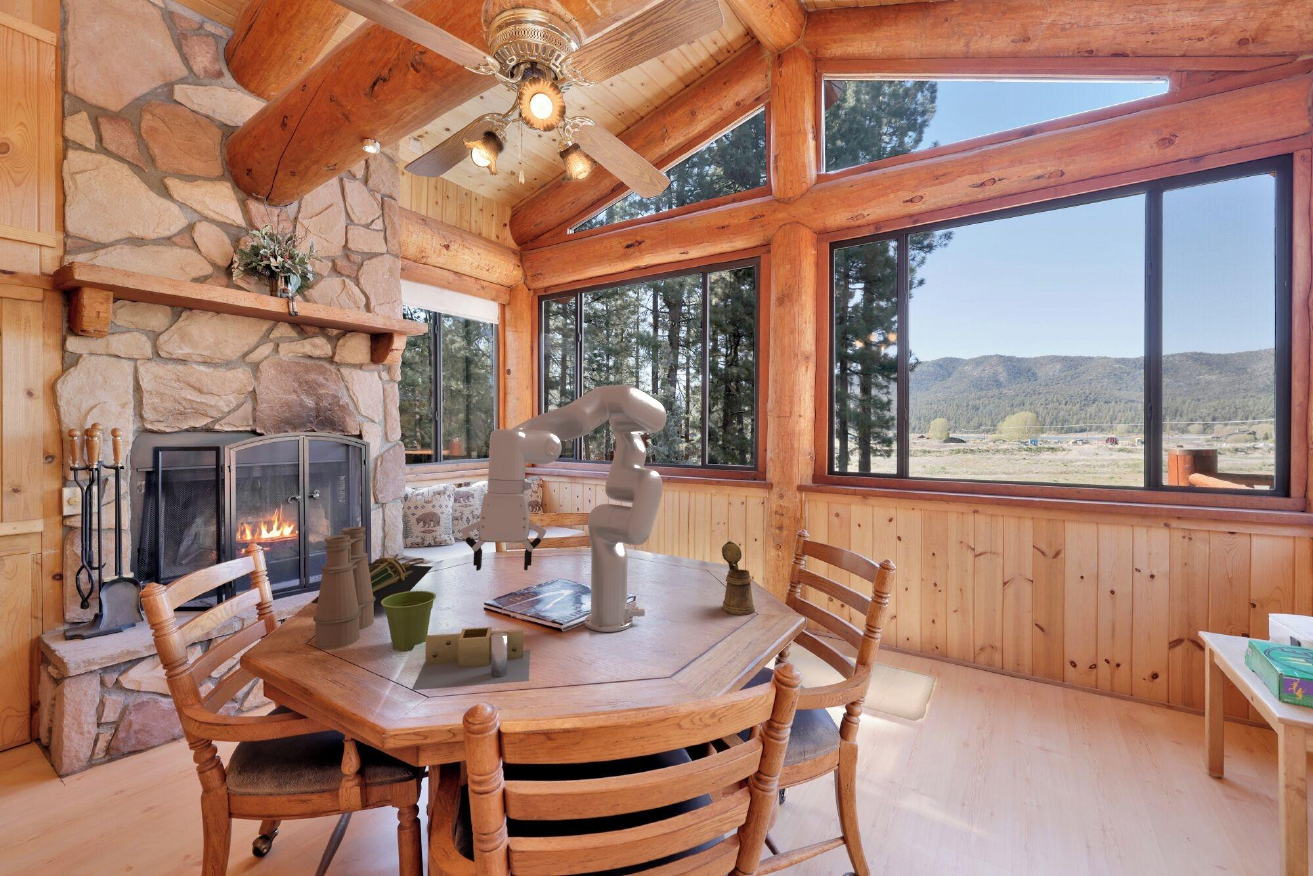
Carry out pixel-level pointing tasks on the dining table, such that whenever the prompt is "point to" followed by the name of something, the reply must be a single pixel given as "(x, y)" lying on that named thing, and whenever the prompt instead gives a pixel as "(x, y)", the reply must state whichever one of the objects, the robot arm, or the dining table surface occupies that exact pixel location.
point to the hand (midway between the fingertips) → (502, 569)
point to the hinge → (470, 647)
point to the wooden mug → (737, 583)
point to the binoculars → (344, 591)
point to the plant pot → (408, 617)
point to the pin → (498, 655)
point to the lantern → (393, 577)
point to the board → (470, 674)
